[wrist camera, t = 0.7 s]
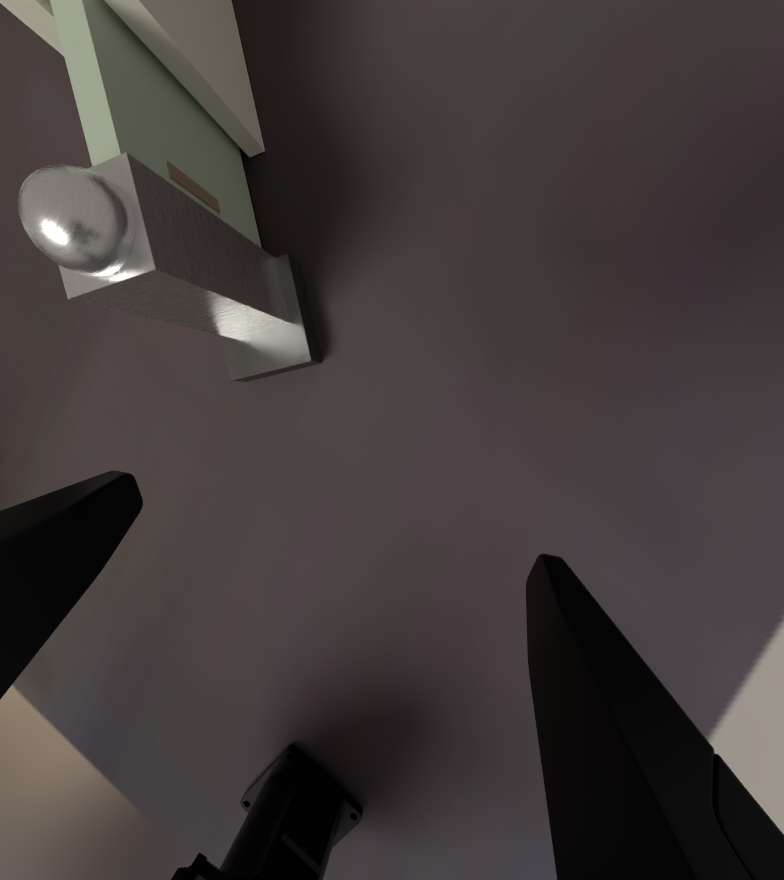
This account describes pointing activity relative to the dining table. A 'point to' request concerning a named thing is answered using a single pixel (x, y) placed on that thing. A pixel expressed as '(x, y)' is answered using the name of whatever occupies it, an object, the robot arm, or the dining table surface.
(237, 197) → the door panel
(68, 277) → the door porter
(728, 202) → the dining table surface
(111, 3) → the white slotted block
